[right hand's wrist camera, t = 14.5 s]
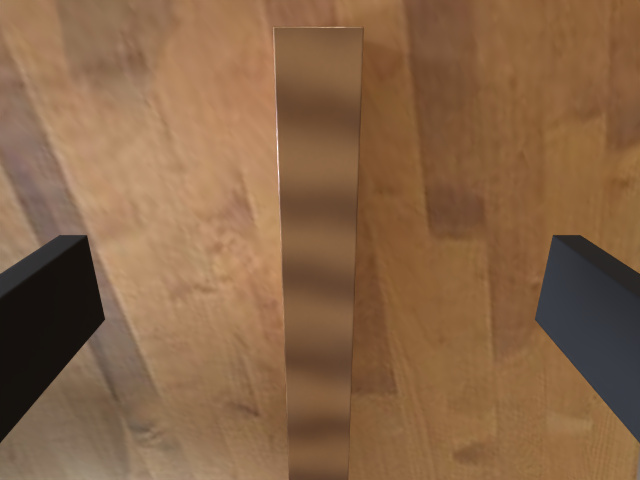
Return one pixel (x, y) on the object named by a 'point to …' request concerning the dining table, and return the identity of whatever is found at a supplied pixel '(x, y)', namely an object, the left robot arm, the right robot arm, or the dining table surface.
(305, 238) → the bar
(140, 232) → the dining table surface
